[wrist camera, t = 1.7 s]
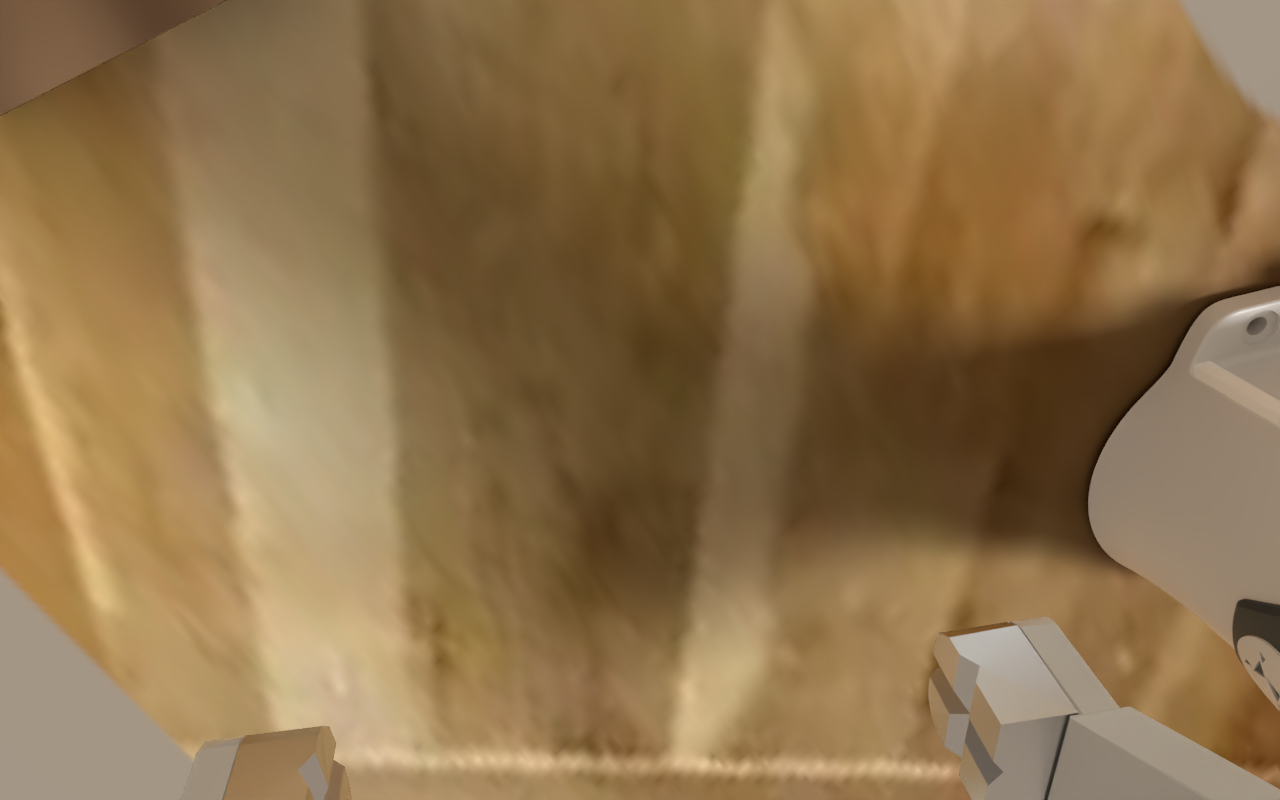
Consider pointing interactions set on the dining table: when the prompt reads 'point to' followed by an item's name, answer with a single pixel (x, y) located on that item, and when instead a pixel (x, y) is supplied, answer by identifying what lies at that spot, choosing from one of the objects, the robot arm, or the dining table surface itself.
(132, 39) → the socket block
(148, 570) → the dining table surface
